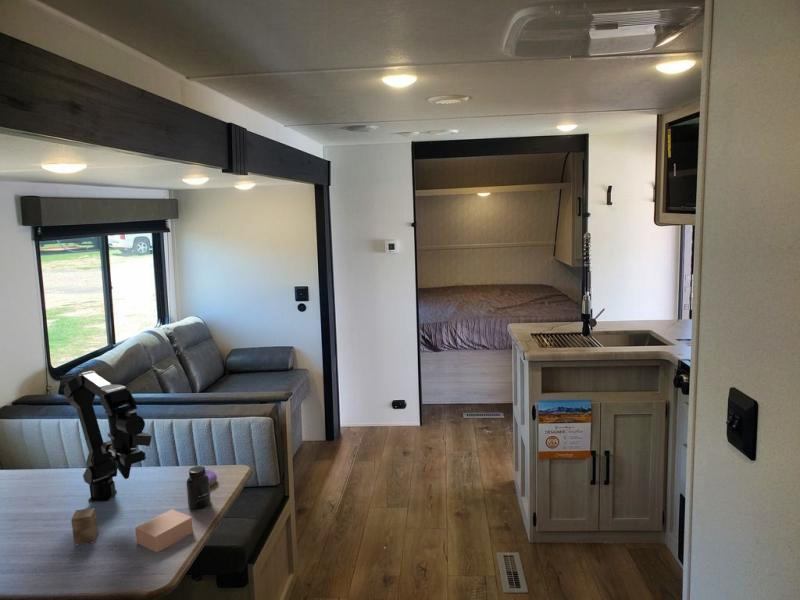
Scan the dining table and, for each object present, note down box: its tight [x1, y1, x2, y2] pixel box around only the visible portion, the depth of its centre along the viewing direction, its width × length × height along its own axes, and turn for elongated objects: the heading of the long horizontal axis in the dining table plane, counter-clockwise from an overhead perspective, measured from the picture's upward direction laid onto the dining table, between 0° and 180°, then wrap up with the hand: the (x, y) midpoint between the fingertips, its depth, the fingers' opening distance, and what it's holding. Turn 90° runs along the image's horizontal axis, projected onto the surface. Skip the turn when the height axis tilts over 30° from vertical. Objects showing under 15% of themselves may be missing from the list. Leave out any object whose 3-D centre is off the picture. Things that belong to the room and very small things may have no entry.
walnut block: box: [71, 507, 99, 545], centre depth 176 cm, size 5×5×8 cm
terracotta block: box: [134, 508, 194, 553], centre depth 176 cm, size 5×12×9 cm
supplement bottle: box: [185, 465, 212, 511], centre depth 193 cm, size 7×7×12 cm
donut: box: [205, 469, 218, 488], centre depth 208 cm, size 10×9×5 cm
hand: (126, 478), depth 188 cm, fingers closed
